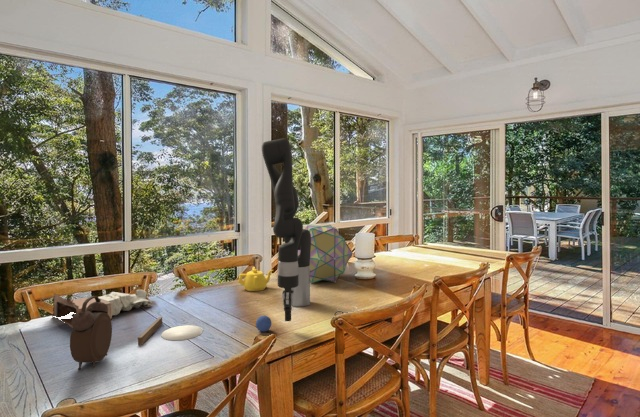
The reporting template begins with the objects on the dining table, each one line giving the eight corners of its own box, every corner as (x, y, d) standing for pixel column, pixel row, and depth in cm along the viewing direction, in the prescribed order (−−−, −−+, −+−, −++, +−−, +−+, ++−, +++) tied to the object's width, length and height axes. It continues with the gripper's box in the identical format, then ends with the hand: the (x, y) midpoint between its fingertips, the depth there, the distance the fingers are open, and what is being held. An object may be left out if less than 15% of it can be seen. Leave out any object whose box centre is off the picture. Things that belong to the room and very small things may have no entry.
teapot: (274, 287, 204) (273, 268, 204) (256, 293, 193) (256, 273, 192) (253, 284, 212) (253, 265, 211) (235, 289, 200) (235, 270, 200)
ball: (272, 328, 147) (271, 313, 147) (270, 333, 142) (270, 318, 141) (256, 328, 147) (256, 313, 147) (255, 334, 142) (254, 318, 141)
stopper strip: (162, 323, 152) (162, 317, 152) (141, 344, 132) (141, 337, 132) (159, 323, 152) (158, 317, 152) (138, 344, 132) (137, 337, 132)
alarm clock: (91, 353, 126) (88, 291, 125) (114, 352, 126) (112, 290, 125) (65, 375, 111) (62, 305, 110) (92, 374, 112) (89, 304, 111)
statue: (162, 312, 168) (161, 289, 167) (67, 335, 142) (66, 308, 141) (137, 300, 184) (137, 279, 183) (49, 318, 159) (48, 294, 158)
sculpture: (282, 281, 216) (282, 226, 214) (314, 271, 240) (314, 222, 238) (328, 290, 199) (328, 230, 197) (358, 278, 223) (358, 225, 221)
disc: (206, 325, 150) (206, 324, 150) (197, 340, 136) (197, 339, 136) (168, 326, 150) (168, 325, 150) (155, 341, 136) (155, 340, 136)
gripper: (298, 277, 137) (298, 326, 138) (298, 269, 150) (298, 314, 151) (276, 277, 137) (276, 327, 138) (278, 269, 150) (278, 314, 151)
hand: (288, 320), depth 144 cm, fingers closed
